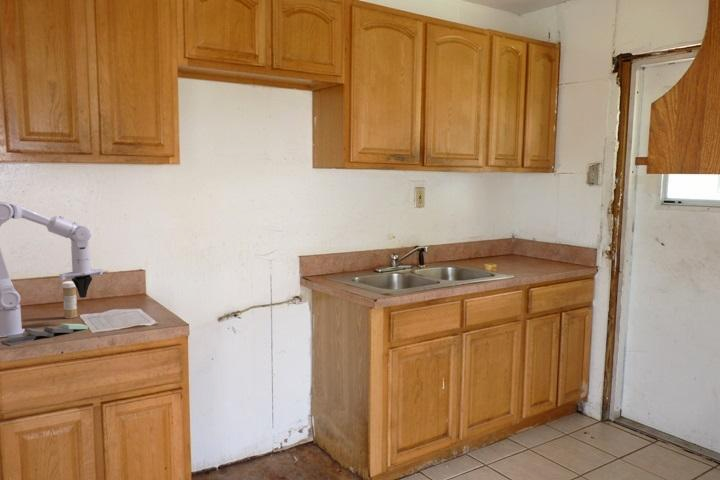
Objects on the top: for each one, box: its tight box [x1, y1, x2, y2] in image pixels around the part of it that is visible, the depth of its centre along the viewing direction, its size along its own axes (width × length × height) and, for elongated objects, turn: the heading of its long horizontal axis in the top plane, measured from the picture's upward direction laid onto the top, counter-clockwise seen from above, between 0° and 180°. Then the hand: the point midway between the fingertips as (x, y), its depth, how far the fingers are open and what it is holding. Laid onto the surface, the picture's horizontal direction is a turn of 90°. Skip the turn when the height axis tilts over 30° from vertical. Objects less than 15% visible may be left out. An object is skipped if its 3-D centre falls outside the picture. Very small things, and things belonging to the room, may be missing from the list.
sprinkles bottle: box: [61, 280, 79, 319], centre depth 208 cm, size 5×5×14 cm
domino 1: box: [6, 332, 37, 342], centre depth 178 cm, size 1×5×7 cm
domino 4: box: [43, 326, 74, 334], centre depth 186 cm, size 1×5×7 cm
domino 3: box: [24, 327, 55, 338], centre depth 182 cm, size 1×5×7 cm
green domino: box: [59, 323, 89, 330], centre depth 190 cm, size 1×5×7 cm
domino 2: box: [2, 339, 35, 347], centre depth 177 cm, size 1×5×7 cm
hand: (82, 297), depth 200 cm, fingers closed
